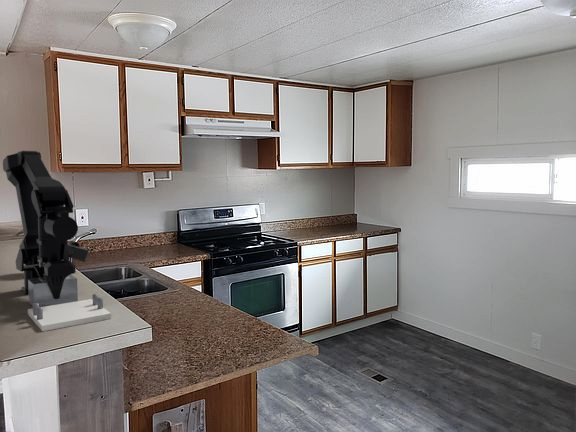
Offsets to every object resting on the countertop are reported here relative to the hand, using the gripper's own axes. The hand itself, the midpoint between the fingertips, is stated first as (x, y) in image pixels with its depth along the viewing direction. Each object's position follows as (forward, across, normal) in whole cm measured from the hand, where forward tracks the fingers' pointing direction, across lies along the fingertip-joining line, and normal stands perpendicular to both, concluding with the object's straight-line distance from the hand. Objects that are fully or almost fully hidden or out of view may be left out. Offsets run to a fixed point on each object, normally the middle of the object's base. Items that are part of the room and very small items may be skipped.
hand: (53, 296), depth 120 cm
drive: (+2, 0, 0) cm, 2 cm away
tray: (+2, -14, 0) cm, 14 cm away
